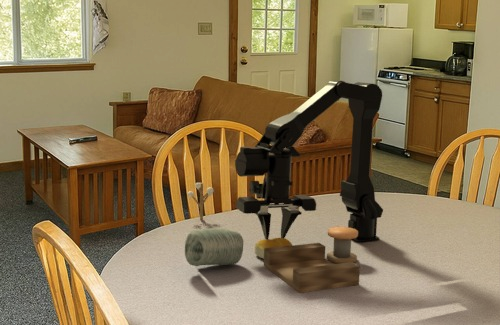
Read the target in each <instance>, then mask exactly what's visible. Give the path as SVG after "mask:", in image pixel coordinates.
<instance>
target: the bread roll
mask: <svg viewBox="0 0 500 325" xmlns="http://www.w3.org/2000/svg"><path fill="white" fill-rule="evenodd" d="M292 245H293V244H292V242H291V241H290V240H288V238H286V237H285V238H281V237H275V238H273V237H272V238H270V239H269V238H268V239H265V238H263V239H260V240H259V241H257V243H256V244H255V246H254V254H255V255H256V256H257V257H259V258H261V259H263V260H264V248H273V247H283V246H292Z"/></svg>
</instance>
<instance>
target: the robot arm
mask: <svg viewBox="0 0 500 325" xmlns="http://www.w3.org/2000/svg"><path fill="white" fill-rule="evenodd" d="M340 99H345V100H346V99H347V101H348V109H349V111H350V113H351V116H352V118H353V120H352V121H353V123H352V134H351V153H350V154H351V155H350V168H349V176H348V177H347V178H346V180H341V181H340V193H339V196H340V197H341V201H342V203H343V205H344V206H345V210H346V212H348V213H350V214H349V219H348V221H347V222H348V223H347V227H349V228H353V229H356V230H357V231H358V237H357V238H354V239H353V240H354V241H355V242H360V243H361V242H368V241H370V242H371V241H378V240H380V237H379V236H377V226H378V219H379V218H381V217H382V214H383V213H384V208H382V206H381V205H380V204H379V203H378V202H377V201H376V195H375V194H376V193H375V187H374V184H373V181H372V179H371V177H370V171H371V161H372V160H371V158H372V145H373V144H372V143H373V130H374V128H373V127H374V121H375V120H374V119H375V117H376V116H377V114H378V112H379V110H380V108H381V104H382V99H383V90H382V89H381V87H380V86H379V85H378V84H376V83H372V82H371V83H370V82H361V81H360V82H359V81H358V82H355V83H350V82H346V81H344V80H337V79H332V80H330V81H328V82H327V83H326V85H325V86H323V88H321V89H320V90H318V91H317V92H316V93H314V94H313V95H312V96H311V97H310V98H309V99H307V100H306V101H305V102H304V103H302V104H301V105H300V106H299V107H297V108H296V109H295V110H293V111H292V112H289V113H288V114H285V115H283V116H282V115H281V116H280V117H277V118H276V119H274V120H273V121H271V122H269V123H268V124H267V125H266V127H265V128H264V129H265V130H264V134H263V135H262V136H261V137H260V139H259V140H258V142H257V143H256V145H255V147H252V146H251V147H248V146H241V147H240V148H239V152H238V153H237V155H236V158H235V160H234V167H235V171H236V174H237V175H238V177H261V176H264V175H265V176H264V177H263V183H260V181H259V180H251V181H249V186H248V190H249V195H256V196H255V197H254V196H239V197H238V198H237V200H236V203H235V208H236V209H237V210H238V211H240V212H241V213H243V214H247V215H249V214H254V215H256V216H257V218H258V220H259V223H260V226H261V230H262V233H263V236H264V239H269V237H270V229H271V219H272V218H271V217H272V214H271V213H270V212H269V209H273V208H275V209H277V208H280V209H281V215H282V217H281V224H280V226H281V227H280V238H285V239H286V236H287V234H288V232H289V231H290V229H291V227H292V226H293V224H294V222H295V220H296V219H297V218H298V216H299V215H302V211H301V210H300V207H301V209H302V210H303V211H305V212H313V211H314V212H315V211H316V210H317V200H316V199H315V198H313V197H311V196H310V195H307V194H293V196H292V197H290V190H291V189H290V187H291V186H293V181H292V180H291V174H292V172H291V171H292V170H291V169H292V160H293V159H292V158H294V157H297V158H298V157H300V156H301V153H300V152H299V151H298V150H297V149H296V148H295V146H294V145H295V144H296V143H297V142H298V140H300V138H301V137H302V136H303V134H304V131H305V129H306V128H307V127H308V126H309V125H310V124H311V123H312V122H313V121H315V120H316V119H318V117H320V116H321V115H322V114H323V113H325V111H326V110H327V111H328V109H329V108H330V107H331V106H333V105H334V104H335V103H337V102H338V101H339V100H340ZM259 199H261V200H259Z"/></svg>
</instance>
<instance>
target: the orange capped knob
mask: <svg viewBox="0 0 500 325" xmlns="http://www.w3.org/2000/svg"><path fill="white" fill-rule="evenodd" d="M327 236H328V237H330V238H333V251H330V252H327V253H326V260H327V261H329V262H331V263H332V264H341V263H350V262H353V263H355V264H356V263H357V259H358V255H357V254H355V253H353V252H351V251H352V240H354V238H357V237H358V231H357V230H356V229H353V228H349V227H348V226H347V227H346V226H334V227H329V228H327Z"/></svg>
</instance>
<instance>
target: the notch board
mask: <svg viewBox="0 0 500 325" xmlns="http://www.w3.org/2000/svg"><path fill="white" fill-rule="evenodd" d="M263 266H264V267H266V269H268V270H269V271H271V273H273V274H275V276H277V277H278V278H280V279H281V280H282V281H284V282H285V283H286V284H287V285H289V286H290V287H291V288H292V289H294V290H295V291H297V293H306V292H314V291H315V292H316V291H320V290H321V291H322V290H329V289H338V288H344V287H352V286H359V285H360V271H361V268H360V267H361V266H360V265H358V264H356V262H355V263H353V262H350V263H341V264H335V263H331V262H329V261H328V260H327V258H326V246H325V245H324V244H322V243H321V242H314V243H312V242H311V243H304V244H302V243H301V244H295V245H294V244H292V246H283V247H273V248H264V259H263Z"/></svg>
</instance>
